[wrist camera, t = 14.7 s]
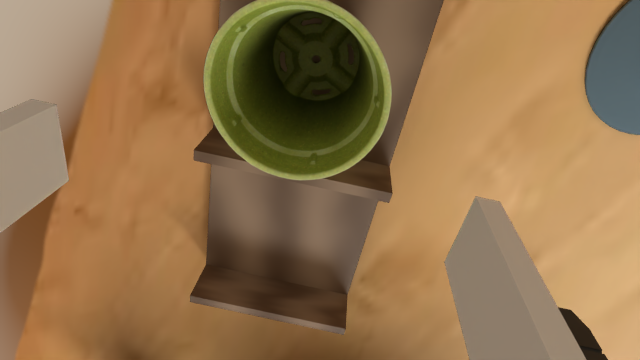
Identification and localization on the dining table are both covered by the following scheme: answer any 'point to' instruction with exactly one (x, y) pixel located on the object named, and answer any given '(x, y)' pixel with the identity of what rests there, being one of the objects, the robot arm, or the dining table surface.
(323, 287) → the rack
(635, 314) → the dining table surface
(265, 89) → the plant pot
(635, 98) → the cocktail glass
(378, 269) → the dining table surface
